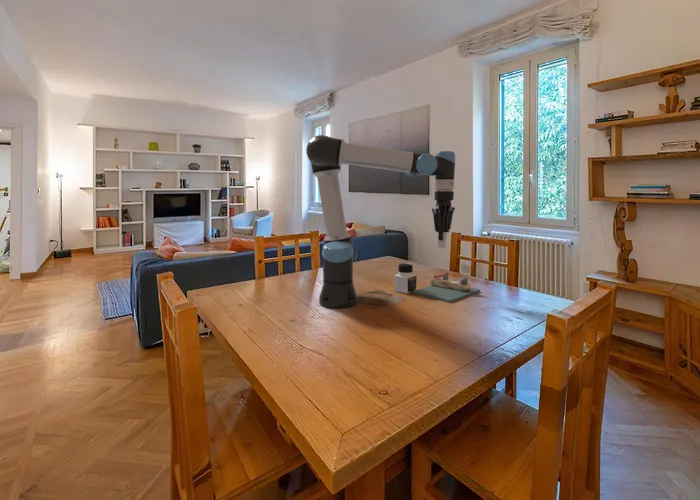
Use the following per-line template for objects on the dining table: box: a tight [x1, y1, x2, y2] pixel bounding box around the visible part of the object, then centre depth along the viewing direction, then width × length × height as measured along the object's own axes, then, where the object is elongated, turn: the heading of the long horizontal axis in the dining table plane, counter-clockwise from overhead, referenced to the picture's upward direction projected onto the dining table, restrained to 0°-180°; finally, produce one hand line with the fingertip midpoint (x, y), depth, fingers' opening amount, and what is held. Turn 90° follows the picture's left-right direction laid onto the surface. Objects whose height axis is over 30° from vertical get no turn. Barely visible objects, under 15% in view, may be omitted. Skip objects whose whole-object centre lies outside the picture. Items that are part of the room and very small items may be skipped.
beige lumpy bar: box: [429, 277, 471, 291], centre depth 165 cm, size 18×5×2 cm, turn 50°
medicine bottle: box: [393, 262, 417, 294], centre depth 164 cm, size 7×7×12 cm
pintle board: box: [413, 271, 481, 304], centre depth 162 cm, size 22×18×6 cm
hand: (441, 247), depth 159 cm, fingers closed
